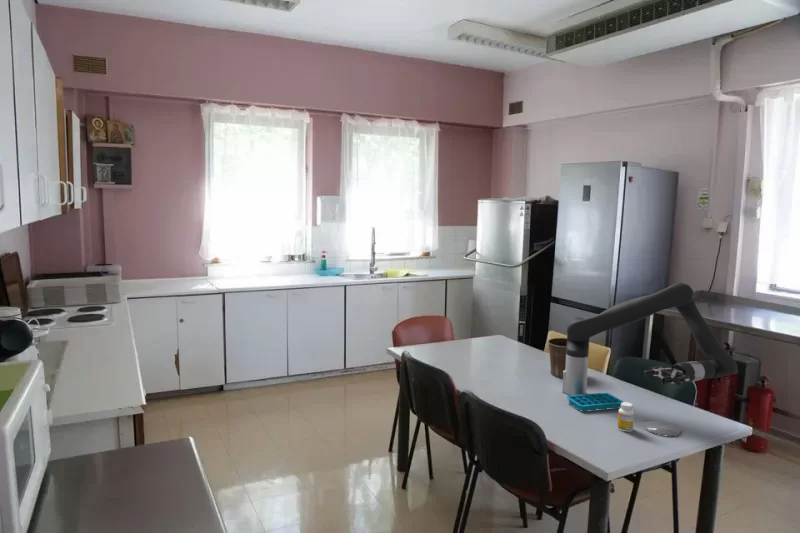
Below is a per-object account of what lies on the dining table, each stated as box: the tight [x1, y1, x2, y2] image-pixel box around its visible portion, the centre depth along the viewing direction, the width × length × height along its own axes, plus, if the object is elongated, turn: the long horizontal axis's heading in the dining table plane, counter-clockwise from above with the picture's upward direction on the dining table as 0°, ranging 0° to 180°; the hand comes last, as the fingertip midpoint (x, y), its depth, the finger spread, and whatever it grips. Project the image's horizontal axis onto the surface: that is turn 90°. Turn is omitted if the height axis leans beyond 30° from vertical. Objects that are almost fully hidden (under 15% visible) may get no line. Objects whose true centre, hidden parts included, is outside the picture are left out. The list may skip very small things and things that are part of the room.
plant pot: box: [547, 337, 567, 379], centre depth 262 cm, size 16×16×16 cm
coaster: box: [643, 420, 681, 437], centre depth 201 cm, size 12×12×1 cm
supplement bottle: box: [617, 401, 635, 432], centre depth 201 cm, size 5×5×10 cm
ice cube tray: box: [566, 392, 624, 412], centre depth 224 cm, size 12×20×3 cm, turn 104°
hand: (653, 377), depth 202 cm, fingers open, 8 cm apart
